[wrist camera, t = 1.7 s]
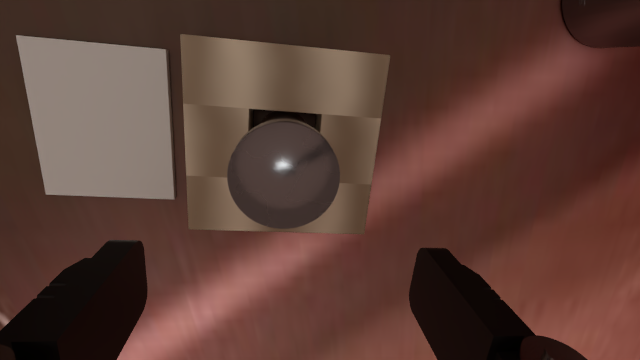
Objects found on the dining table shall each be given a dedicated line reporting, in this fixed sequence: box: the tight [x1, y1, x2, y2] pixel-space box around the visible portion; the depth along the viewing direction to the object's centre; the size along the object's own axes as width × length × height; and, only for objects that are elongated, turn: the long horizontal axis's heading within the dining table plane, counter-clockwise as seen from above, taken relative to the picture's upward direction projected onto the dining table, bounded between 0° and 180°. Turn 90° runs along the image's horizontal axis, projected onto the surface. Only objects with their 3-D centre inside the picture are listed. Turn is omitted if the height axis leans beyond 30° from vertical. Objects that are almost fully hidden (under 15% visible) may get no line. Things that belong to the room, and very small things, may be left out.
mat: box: [16, 35, 176, 199], centre depth 26 cm, size 10×12×1 cm
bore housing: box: [180, 34, 390, 234], centre depth 27 cm, size 14×14×4 cm
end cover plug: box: [227, 111, 340, 229], centre depth 23 cm, size 6×6×11 cm
